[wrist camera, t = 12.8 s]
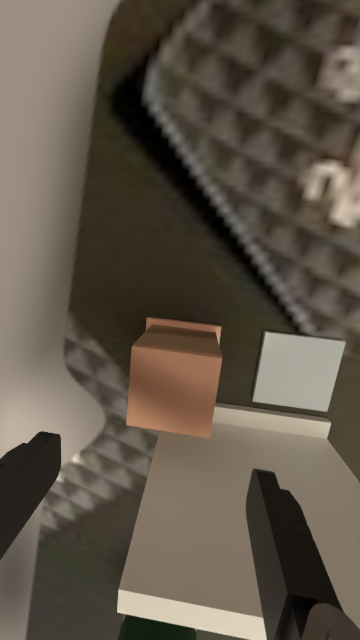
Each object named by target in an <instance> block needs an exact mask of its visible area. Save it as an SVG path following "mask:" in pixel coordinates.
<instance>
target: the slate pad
mask: <svg viewBox="0 0 360 640" xmlns="http://www.w3.org/2000/svg"><path fill="white" fill-rule="evenodd" d="M345 343H346V342H345V341H343V340H339V339H331V338H322V337H314V336H305V335H297V334H288V333H280V332H272V331H264V333H263V338H262V344H261V349H260V355H259V360H258V365H257V371H256V376H255V382H254V387H253V392H252V401H253V402H260V403H268V404H275V405H282V406H289V407H297V408H304V409H311V410H318V411H326V412H327V410H328V407H329V403H330V399H331V395H332V391H333V388H334V384H335V380H336V376H337V373H338V369H339V365H340V361H341V358H342V354H343V350H344V346H345Z"/></svg>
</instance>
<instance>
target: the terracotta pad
mask: <svg viewBox="0 0 360 640" xmlns="http://www.w3.org/2000/svg"><path fill="white" fill-rule="evenodd" d="M152 324H155V325H163V326H171V327H178V328H186V329H194V330H202V331H209V332H216V335H217V339H218V343H219V341H220V334H221V325H212V324H204V323H195V322H187V321H178V320H170V319H162V318H153V317H147V321H146V330H147V329H148V328H149V327H150V326H151V325H152Z"/></svg>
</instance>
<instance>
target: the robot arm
mask: <svg viewBox="0 0 360 640" xmlns="http://www.w3.org/2000/svg"><path fill="white" fill-rule="evenodd" d="M60 468H61V437H60V435H59V434H54V433H48V432H39V433H38V434H36V436H34V437H33V438H32V440H31V441H29V443H22V444H21V445H19V446H17V447H15V448H14V449H12V450H10V451H9V452H7V453H6V454H5V455H4V456H3V457H2V458H1V459H0V560H1V558H2V557H3V555H4V554H5V552H6V551H7V550H8V548H9V547H10V545H11V544H12V542H13V541H14V539H15V538H16V537H17V535H18V533H19V532H20V531H21V529H22V528H23V527H24V525H25V524H26V522H27V521H28V519H29V518H30V517H31V515H32V514H33V512H34V510H35V509H36V508H37V506H38V505H39V504H40V502H41V501H42V499H43V498H44V496H45V495H46V494H47V492H48V491H49V489H50V488H51V486H52V485H53V483H54V482H55V480H56V479H57V477H58V474H59V471H60ZM246 519H247V525H248V531H249V537H250V543H251V549H252V555H253V561H254V566H255V572H256V578H257V584H258V590H259V596H260V602H261V608H262V614H263V620H264V626H265V632H266V638H267V640H360V629H359V628H358V627H357V626H356V624H355V623H354V622H353V621H352V620H351V619H350V618H349V617H348V616H347V615H346V614H345V613H344V611H343V609H342V607H341V605H340V603H339V600H338V598H337V595H336V593H335V590H334V588H333V585H332V583H331V581H330V578H329V576H328V573H327V571H326V568H325V566H324V563H323V561H322V558H321V556H320V553H319V551H318V548H317V546H316V543H315V541H314V540H313V536H312V533H311V531H310V528H309V526H308V525H307V521H306V518H305V516H304V514H303V511H302V509H301V506H300V504H299V503H298V502H297V500H296V499H295V498H294V496H293V495H292V494H291V492H290V491H289V490H284V489H280V486H279V484H278V481H277V478H276V475H275V473H274V472H273V471H267V470H262V469H256V468H254V469H253V470H252V474H251V479H250V483H249V488H248V492H247V497H246Z"/></svg>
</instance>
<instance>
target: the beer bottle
mask: <svg viewBox="0 0 360 640" xmlns="http://www.w3.org/2000/svg"><path fill="white" fill-rule="evenodd" d="M118 640H196V628H191V627H186V626H181V625H176V624H171V623H166V622H161V621H156V620H152V619H147V618H142V617H137V616H132V615H127V614H124V616H123V620H122V625H121V629H120V634H119V638H118Z"/></svg>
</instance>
